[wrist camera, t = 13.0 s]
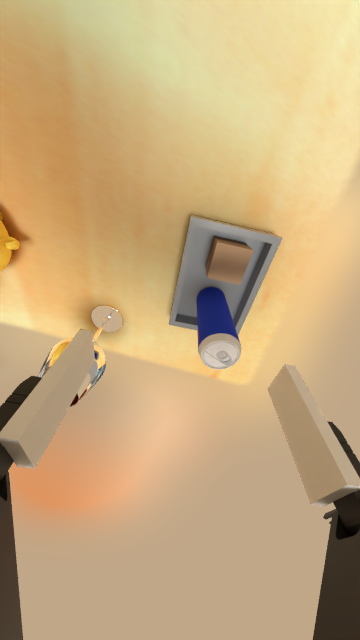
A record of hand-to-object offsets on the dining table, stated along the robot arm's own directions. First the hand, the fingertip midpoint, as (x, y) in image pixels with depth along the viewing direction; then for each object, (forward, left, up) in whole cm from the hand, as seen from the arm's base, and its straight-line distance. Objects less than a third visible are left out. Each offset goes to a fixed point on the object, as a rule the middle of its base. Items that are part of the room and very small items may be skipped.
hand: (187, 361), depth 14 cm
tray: (+2, +5, -23) cm, 24 cm away
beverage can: (+5, +5, -23) cm, 24 cm away
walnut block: (-3, +5, -23) cm, 23 cm away
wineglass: (+15, -14, -24) cm, 31 cm away
